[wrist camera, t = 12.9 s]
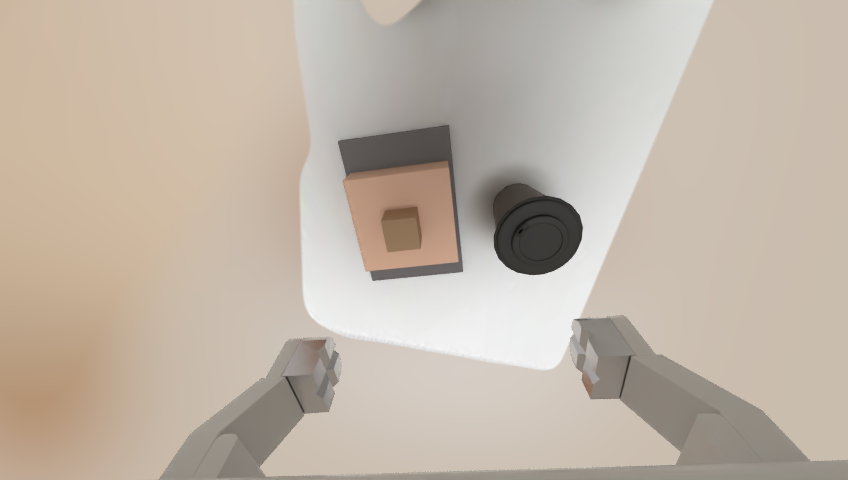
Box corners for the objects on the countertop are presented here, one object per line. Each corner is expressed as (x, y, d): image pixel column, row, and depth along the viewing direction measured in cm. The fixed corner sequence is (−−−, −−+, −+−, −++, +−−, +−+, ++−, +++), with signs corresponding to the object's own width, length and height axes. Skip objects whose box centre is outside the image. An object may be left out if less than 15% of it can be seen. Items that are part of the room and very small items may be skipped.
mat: (339, 140, 35) (338, 141, 34) (448, 125, 33) (448, 125, 33) (373, 278, 42) (372, 280, 42) (462, 269, 41) (463, 271, 41)
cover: (350, 173, 35) (334, 189, 30) (447, 160, 34) (450, 175, 29) (371, 257, 40) (360, 285, 35) (456, 248, 39) (460, 276, 34)
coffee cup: (485, 170, 35) (502, 198, 26) (557, 172, 35) (599, 202, 26) (478, 235, 39) (490, 279, 30) (543, 237, 39) (576, 283, 30)
